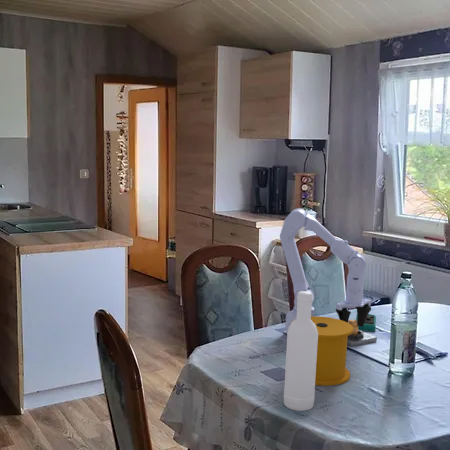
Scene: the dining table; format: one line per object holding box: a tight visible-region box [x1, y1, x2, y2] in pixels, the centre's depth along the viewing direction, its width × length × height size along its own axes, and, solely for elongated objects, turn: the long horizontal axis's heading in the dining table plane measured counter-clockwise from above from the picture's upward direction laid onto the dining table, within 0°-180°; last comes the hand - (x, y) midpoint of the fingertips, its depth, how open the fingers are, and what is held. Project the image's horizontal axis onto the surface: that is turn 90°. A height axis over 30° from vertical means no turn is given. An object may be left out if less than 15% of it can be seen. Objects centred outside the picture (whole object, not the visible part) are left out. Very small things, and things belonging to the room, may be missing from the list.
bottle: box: [283, 291, 318, 412], centre depth 160 cm, size 8×8×30 cm
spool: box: [291, 315, 353, 387], centre depth 183 cm, size 18×18×15 cm
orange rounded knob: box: [348, 319, 358, 335], centre depth 216 cm, size 4×4×5 cm
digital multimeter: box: [355, 313, 377, 332], centre depth 233 cm, size 7×15×3 cm, turn 166°
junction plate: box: [347, 330, 378, 347], centre depth 217 cm, size 12×12×2 cm
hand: (352, 327), depth 216 cm, fingers open, 7 cm apart
